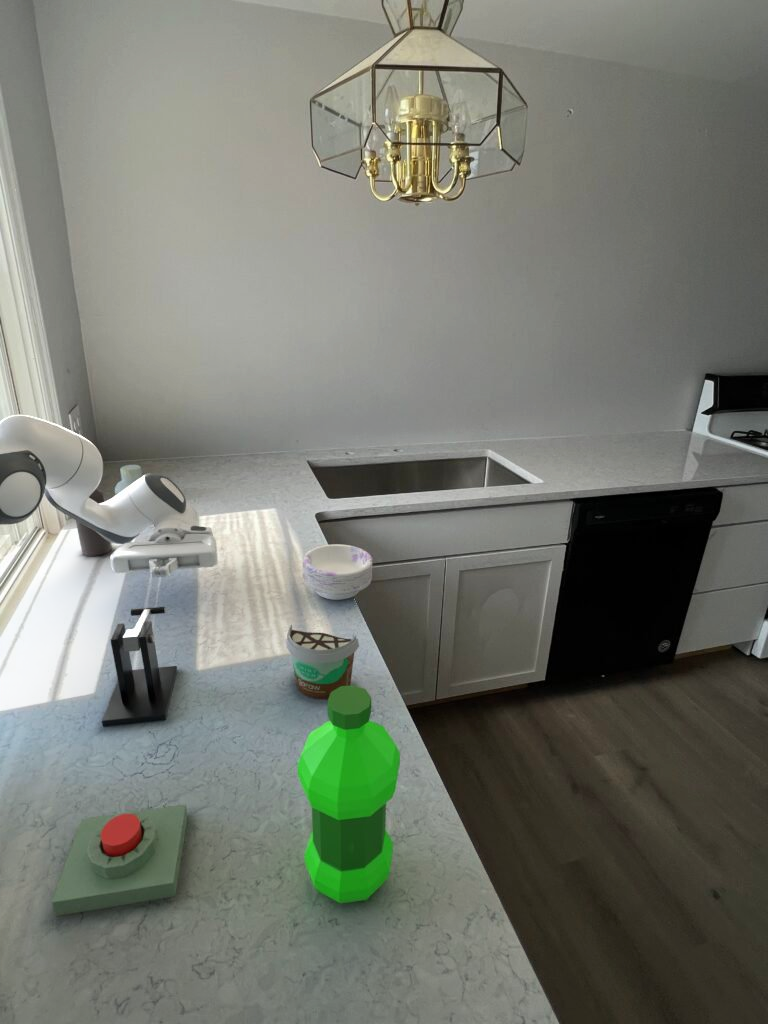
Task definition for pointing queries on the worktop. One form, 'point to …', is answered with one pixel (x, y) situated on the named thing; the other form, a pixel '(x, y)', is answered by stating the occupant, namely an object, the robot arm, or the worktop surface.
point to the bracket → (139, 683)
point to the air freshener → (128, 477)
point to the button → (121, 835)
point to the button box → (123, 863)
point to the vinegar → (93, 534)
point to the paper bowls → (337, 570)
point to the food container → (321, 661)
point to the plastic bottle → (349, 798)
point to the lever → (139, 627)
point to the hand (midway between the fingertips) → (159, 573)
